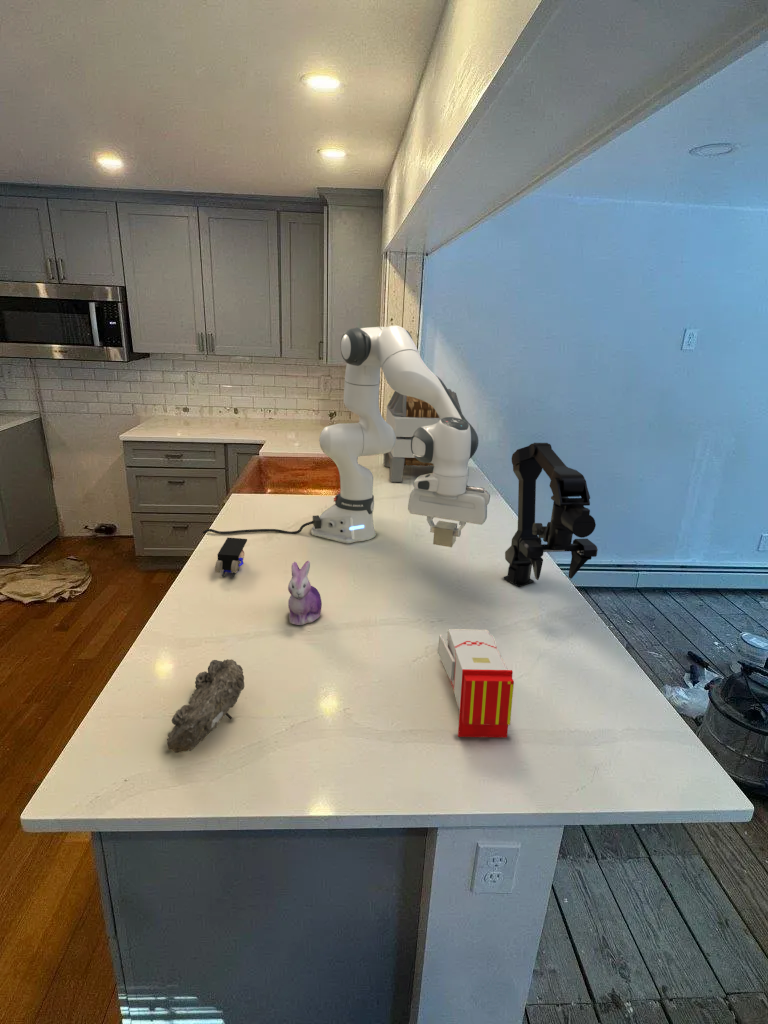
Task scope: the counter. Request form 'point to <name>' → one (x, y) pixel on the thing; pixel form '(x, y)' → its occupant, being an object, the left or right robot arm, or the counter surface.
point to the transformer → (407, 430)
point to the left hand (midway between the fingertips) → (445, 534)
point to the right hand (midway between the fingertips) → (553, 578)
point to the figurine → (303, 597)
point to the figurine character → (230, 556)
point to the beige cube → (444, 534)
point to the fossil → (206, 705)
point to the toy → (478, 682)
